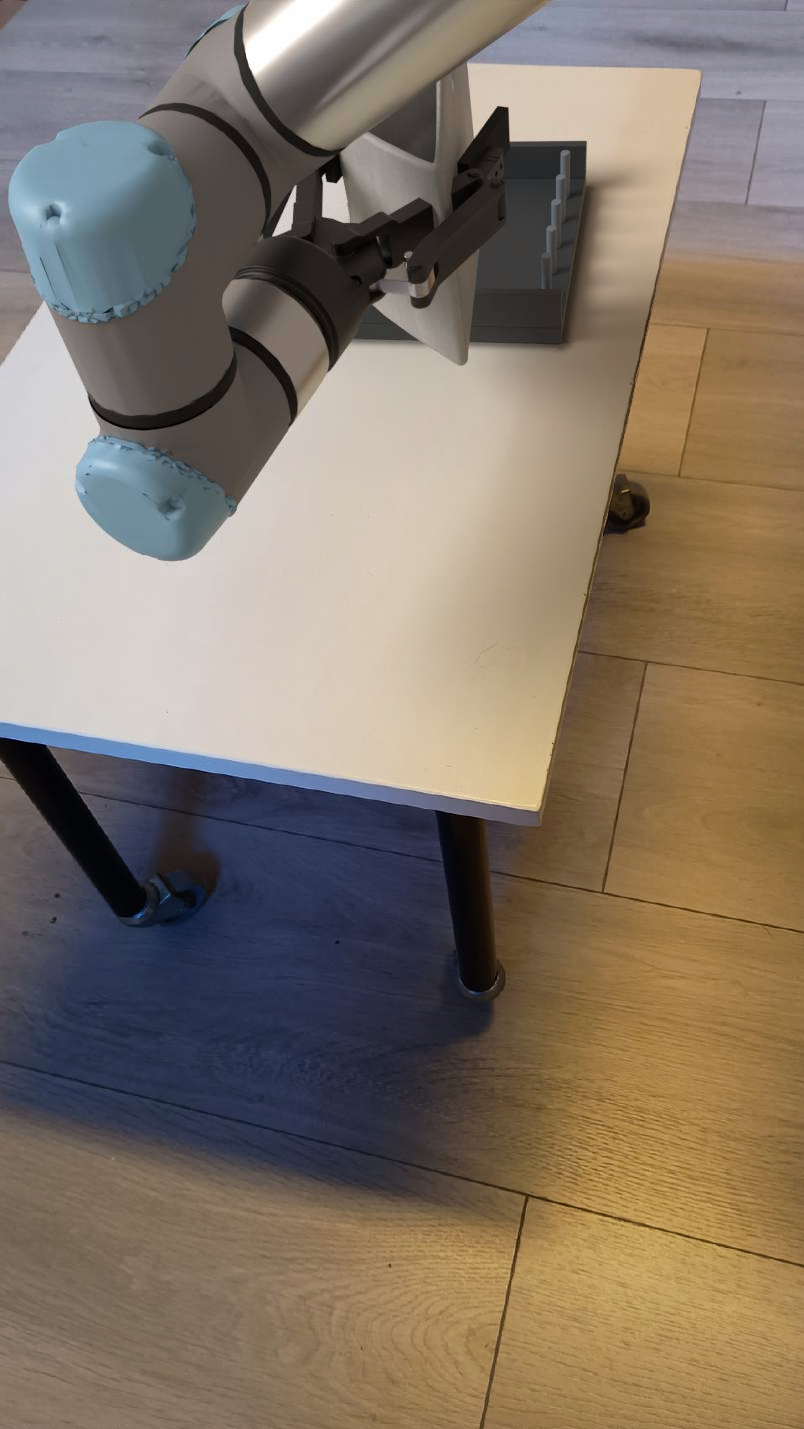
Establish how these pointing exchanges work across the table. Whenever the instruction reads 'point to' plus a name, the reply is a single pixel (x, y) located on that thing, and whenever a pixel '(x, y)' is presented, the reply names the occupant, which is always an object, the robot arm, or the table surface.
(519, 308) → the dish rack
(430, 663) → the table surface
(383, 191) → the planter
